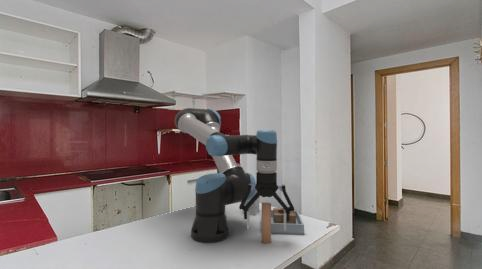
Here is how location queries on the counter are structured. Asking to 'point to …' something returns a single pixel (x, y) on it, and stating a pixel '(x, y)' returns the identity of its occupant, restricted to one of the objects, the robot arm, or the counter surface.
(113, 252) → the counter surface
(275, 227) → the tray
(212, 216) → the robot arm
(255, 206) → the small box
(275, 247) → the counter surface
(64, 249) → the counter surface
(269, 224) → the peg
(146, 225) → the counter surface
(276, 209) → the block
